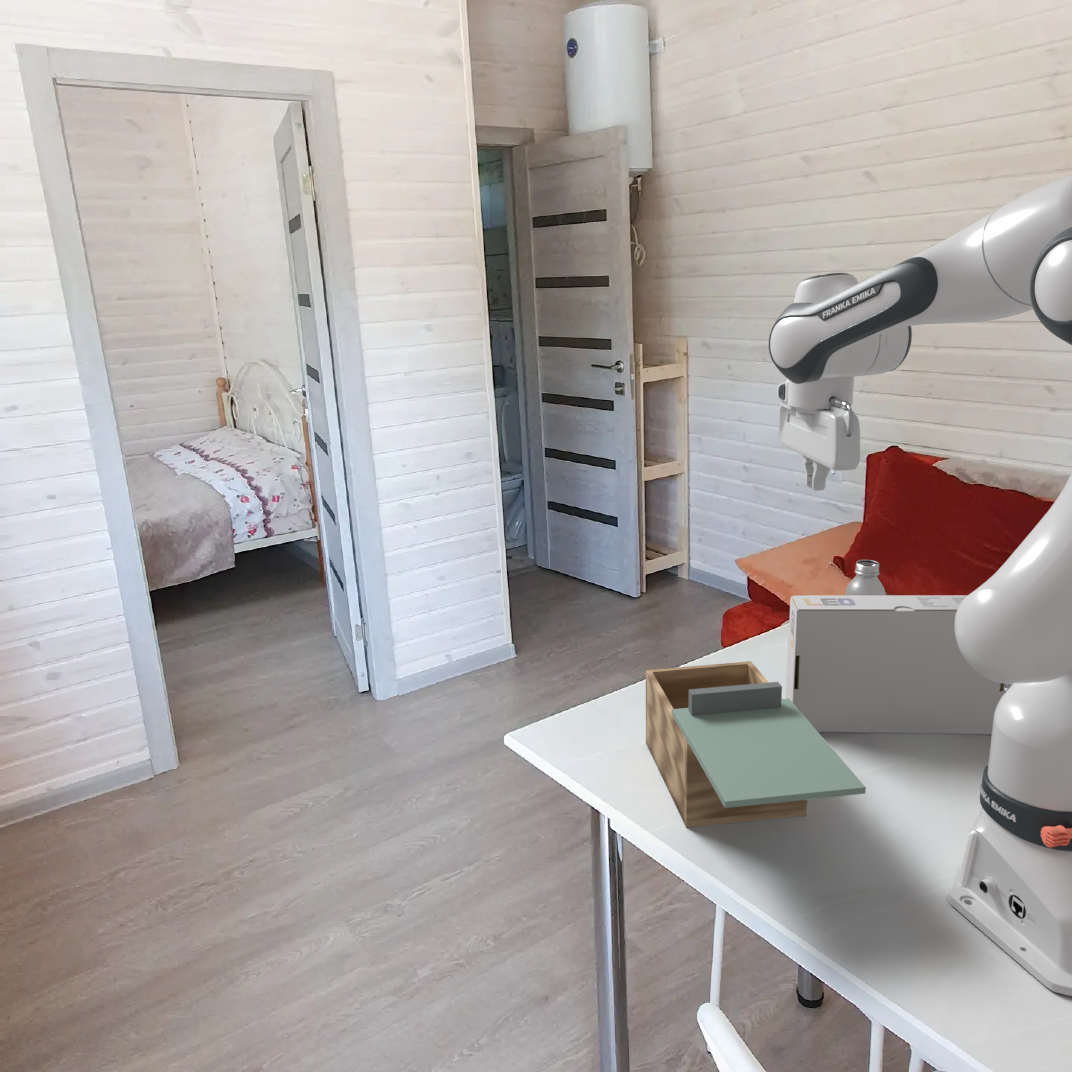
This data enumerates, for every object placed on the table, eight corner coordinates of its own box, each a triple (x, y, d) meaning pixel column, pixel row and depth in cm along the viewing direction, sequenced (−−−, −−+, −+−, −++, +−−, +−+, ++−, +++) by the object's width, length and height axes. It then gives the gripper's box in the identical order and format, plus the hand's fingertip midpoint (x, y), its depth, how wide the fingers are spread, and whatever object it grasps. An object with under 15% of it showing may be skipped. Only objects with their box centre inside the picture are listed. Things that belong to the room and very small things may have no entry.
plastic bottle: (855, 683, 155) (862, 571, 149) (832, 667, 161) (839, 559, 156) (888, 677, 157) (897, 566, 151) (864, 662, 163) (872, 555, 157)
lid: (865, 793, 101) (867, 763, 100) (724, 808, 100) (725, 777, 99) (788, 704, 122) (790, 677, 121) (671, 714, 121) (672, 688, 120)
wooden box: (806, 815, 119) (810, 732, 116) (686, 827, 117) (687, 743, 114) (748, 733, 140) (750, 661, 137) (645, 743, 138) (645, 670, 135)
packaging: (984, 716, 143) (998, 595, 137) (999, 735, 137) (1014, 610, 131) (785, 713, 146) (790, 595, 140) (791, 732, 140) (797, 609, 134)
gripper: (876, 401, 120) (869, 504, 124) (812, 383, 139) (808, 472, 143) (829, 404, 119) (824, 507, 123) (772, 385, 139) (769, 474, 143)
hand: (815, 488), depth 133 cm, fingers closed
